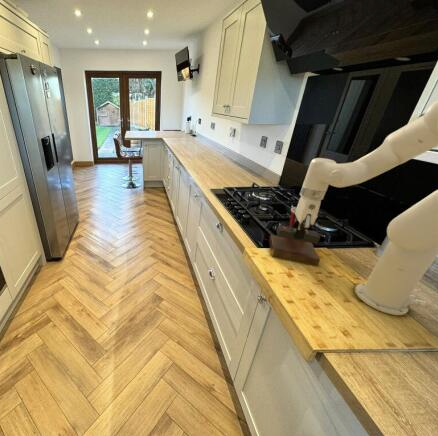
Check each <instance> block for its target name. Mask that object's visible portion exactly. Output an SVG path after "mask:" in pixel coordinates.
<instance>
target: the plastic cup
mask: <svg viewBox="0 0 438 436" xmlns="http://www.w3.org/2000/svg"><path fill="white" fill-rule="evenodd" d="M296 208H297V207H291V208H290V220H289V226H288V227H292V226H293V223H294V220H295V218H296V215H295V211H296ZM316 219H318V216H317V217H316ZM303 222H305V221H303ZM295 223H296V222H295ZM303 225H304V224H303ZM310 226H312V225H311V224H310V223H309V227H310Z"/></svg>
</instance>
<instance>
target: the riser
mask: <svg viewBox="0 0 438 436" xmlns="http://www.w3.org/2000/svg"><path fill="white" fill-rule="evenodd" d="M268 245H269V249H270V253H271V257H273V258H277V259H282V260H286V261H291V262H295V263H299V264H300V263H301V264H305V265H310V266H316V267H318V266H319V264H320V262H321V258H320V256H319V254H318V253H317V250H316V249H315V247H314V245H313V243H310V242H304V241H299V240H294V239H288V238H283V237H278V235H277V234H276V235H275V234H270V235H269V237H268Z"/></svg>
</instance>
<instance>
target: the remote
mask: <svg viewBox="0 0 438 436" xmlns="http://www.w3.org/2000/svg"><path fill="white" fill-rule="evenodd" d="M296 229H298V228H293V227H289V226H288V225H281V224H278V225H277V229H276V236H278V237H283V238H288V239H294V240H299V241H304V242H310V243H312V244H315V245H319V242H320V239H321V236H320V234H319V233H318V231H315V230H310V229H307V231H306V233H305V235H304V238H303V239H296V238H294V234H295V232H296Z"/></svg>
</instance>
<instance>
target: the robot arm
mask: <svg viewBox="0 0 438 436" xmlns="http://www.w3.org/2000/svg"><path fill="white" fill-rule="evenodd" d="M437 147H438V99H437V100H436V101H434V102H433V103H432V104H431V105H430V106H429V107H428V108H426V110H425V112H424V113H423V115H422V116H420V117H418V118H416V119H414V120H413V121H411V122H409V123H408V124H405V125H404V126H402V127H400V128H399V129H397V130H395V131H393V132H391V133H390V134H388V135H386V137H385V139H384V140H383V142H382V144H381V145H379V147H377V148H376V149H374V150H373V151H371V152H369V153H368V154H366V155H364V156H362V157H360V158H359V159H357V160H354V161H353V162H351V161H350V162H343V163H337V162H336V161H335V160H333V159H330V158H325V157H324V158H323V157H316V158H313V159H312V160H311V161H310V163H309V166H308V168H307V172H306V174H305V177H304V180H303V183H302V186H301V189H300V192H299V196H300V197H299V200H298V202H297V206H296V207H295V208H296V211H295V215H296V218H295V220H294V223H293V226H292V227H293V228H298V229H296V232H295V234H294V238H296V239H303V238H304V235H305V233H306V231H307V230H309V228H310V226H313V225H315V222H316V220H317V218H318V214H319V210H320V207H321V203H322V200H324V197H325V196H326V192H327V191H328V188H329V186H332V187H335V188H346V187H350V186H355V185H359V184H362V183H364V182H367V181H369V180H371V179H373V178H376V177H378V176H380V175H381V174H384V173H385V172H386V173H387V172H388V171H390V170H392V169H394V168H395V167H397V166H399V165H403V164H404V163H407V162H408V161H410V160H412V159H414V158H416V157H418V156H420V155H422V154H425V153H427V152H428V151H431V150H432V149H435V148H437ZM316 217H317V218H316ZM303 221H305V222H303ZM295 222H296V223H295ZM309 223H310V224H311V225H310V226H309ZM303 224H304V225H303ZM386 235H387V238H388V240H389V241H388V243H387V244H386V246H385V248H384V249H383V251H382V253H381V254H380V257H379V259H378V260H377V262H376V264H375V265H374V267H373V268H372V270H371V272H370V274H369V276H368V278H367V279H366V281H365V283H359V284H357V285H355V288H354V293H355V295H356V296H357V297H358V299H360V300H361V301H362V302H363V303H365V304H366V305H367V306H369V307H371V308H373V309H375V310H377V311H380V312H382V313H385V314H388V315H393V316H404V315H406V314H407V313H408V312H409V309H410V308H409V306H415V307H420V308H426V307H427V306H428V305H427V304H428V303H427V301H425V300H421V299H417V298H416V296H415V295H414V294H412V293H413V291H414V290H415V288H416V287H417V286H418V284H419V282H420V281H421V279H422V278H423V277H424V275H425V274H426V272H427V271H428V270H429V268H430V267H431V265H432V264H433V262H435V260H436V258H437V257H438V189H436V190H435V191H433V192H432V193H430V194H429V195H427V196H426V197H424V198H422V199H421V200H420V201H418V202H416V203H415V204H413V205H411V207H409V208H408V209H406V210H405V211H403V212H402V213H400V214H398V215H397V216H396V217H394V218H393V219H392V220H391V221H389V223H388V225H387V227H386Z"/></svg>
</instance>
